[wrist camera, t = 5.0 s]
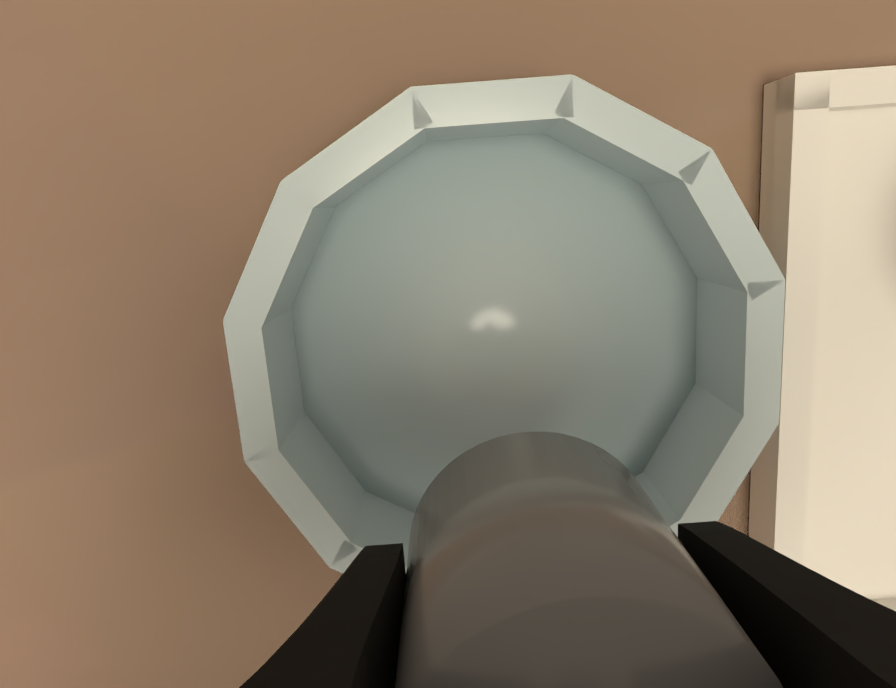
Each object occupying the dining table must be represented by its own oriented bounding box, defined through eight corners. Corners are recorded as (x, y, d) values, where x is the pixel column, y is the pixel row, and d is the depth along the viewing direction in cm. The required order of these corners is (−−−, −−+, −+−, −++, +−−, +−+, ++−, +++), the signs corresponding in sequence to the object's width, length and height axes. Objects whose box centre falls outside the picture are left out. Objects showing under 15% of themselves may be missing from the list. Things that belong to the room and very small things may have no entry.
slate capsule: (656, 646, 12) (792, 926, 7) (419, 664, 12) (405, 953, 7) (656, 422, 11) (814, 581, 6) (398, 441, 11) (366, 613, 6)
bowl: (714, 529, 18) (771, 597, 15) (299, 559, 18) (270, 633, 15) (723, 87, 15) (795, 57, 12) (240, 123, 16) (189, 103, 12)
